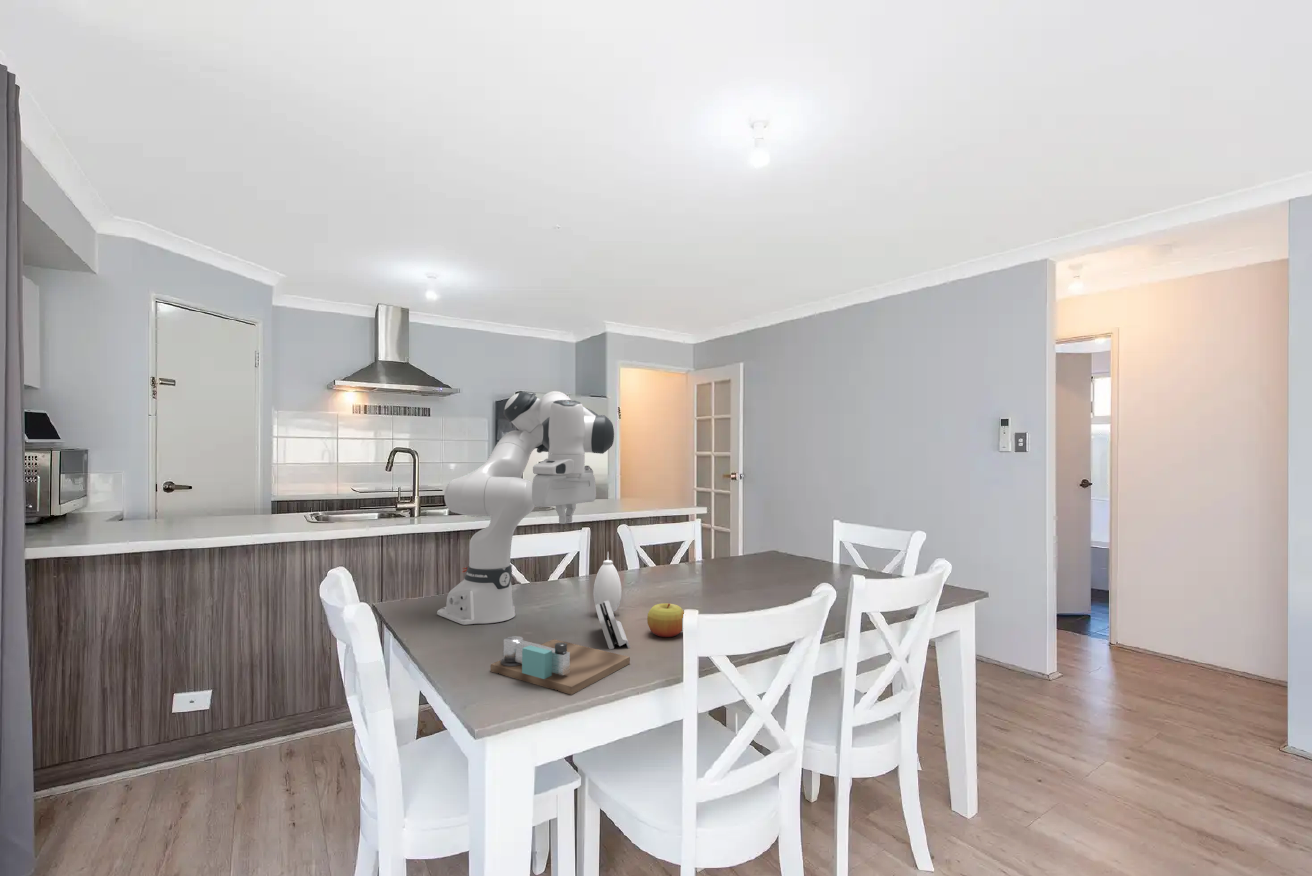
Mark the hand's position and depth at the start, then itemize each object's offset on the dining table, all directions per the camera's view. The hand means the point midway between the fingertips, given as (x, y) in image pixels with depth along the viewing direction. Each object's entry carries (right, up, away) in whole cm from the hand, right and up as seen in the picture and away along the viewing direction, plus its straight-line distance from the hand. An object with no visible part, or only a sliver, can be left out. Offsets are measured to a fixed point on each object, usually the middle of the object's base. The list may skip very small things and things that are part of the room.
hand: (565, 523), depth 147 cm
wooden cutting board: (+2, -29, -16) cm, 33 cm away
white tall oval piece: (+8, -30, +25) cm, 40 cm away
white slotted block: (+11, -30, +4) cm, 32 cm away
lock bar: (-3, -27, -21) cm, 34 cm away
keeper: (-2, -27, -24) cm, 37 cm away
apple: (+25, -30, +8) cm, 39 cm away
